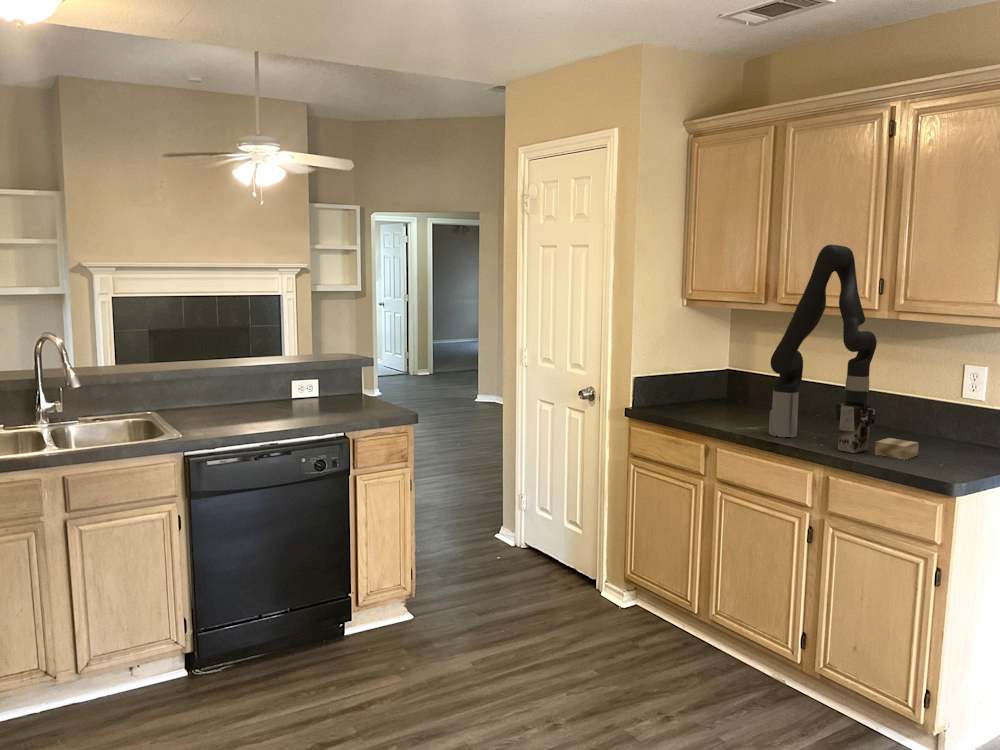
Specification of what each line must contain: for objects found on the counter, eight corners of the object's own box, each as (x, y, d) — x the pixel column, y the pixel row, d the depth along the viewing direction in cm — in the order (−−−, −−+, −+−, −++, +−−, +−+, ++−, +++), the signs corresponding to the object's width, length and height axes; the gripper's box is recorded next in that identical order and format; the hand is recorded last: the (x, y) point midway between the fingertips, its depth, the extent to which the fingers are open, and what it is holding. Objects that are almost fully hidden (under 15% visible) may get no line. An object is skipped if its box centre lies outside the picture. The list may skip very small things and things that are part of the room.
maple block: (874, 455, 269) (875, 441, 268) (887, 451, 275) (888, 437, 275) (904, 461, 261) (905, 446, 261) (917, 456, 268) (918, 442, 267)
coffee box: (854, 453, 270) (857, 407, 268) (837, 450, 275) (840, 404, 273) (868, 450, 275) (871, 404, 273) (851, 446, 280) (854, 402, 278)
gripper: (832, 386, 276) (829, 433, 278) (870, 392, 264) (866, 440, 266) (845, 385, 280) (842, 430, 282) (883, 390, 268) (879, 438, 270)
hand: (854, 435), depth 274 cm, fingers closed on coffee box, 6 cm apart
